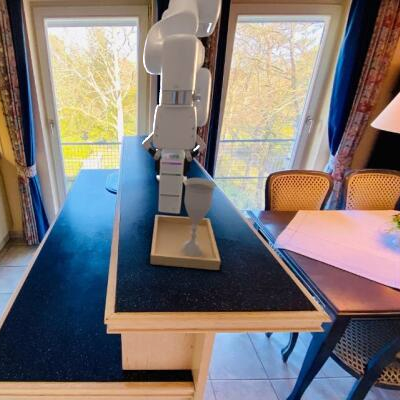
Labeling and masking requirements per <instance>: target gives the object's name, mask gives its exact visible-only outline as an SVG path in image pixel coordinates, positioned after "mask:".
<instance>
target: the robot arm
mask: <svg viewBox="0 0 400 400" xmlns="http://www.w3.org/2000/svg"><path fill="white" fill-rule="evenodd" d="M221 8H222V0H169V3H168V8H167V9H166V10H164V12H163V13H162V15H161V19H160V20H159V21H157V22H155V23H154V24H153V25H152V26H151V27H150V29H149V30H148V32H147V35H146V39H145V44H144V49H143V66H144V68H145V70H146V72H147V73H149V74H151V75H160V90H159V91H160V92H159V104H157V105H156V107H155V112H154V119H153V129H152V133H150V135H148V137H146V138H145V140H143V142H142V143H141V147H143V149H144V150H146V151H147V152H148V154H149V155H150V156H151V157H152V158H153V159H154V172H156V180H157V181H158V182H159V180H160V160H161V157H162V155H163V154H168V153H175V154H183V155H184V167H183V184H184V181H185V180H186V179H188V177H187V175H188V173H190V172H191V171H190V170H191V162H192V160H193V159H194V158H195V157H197V156H198V155H199V154H200V153H202V151H204V150H205V149H206V148H207V144H206V143H205V141H203V139H202V138H201V137H200V135H198V134H197V129H198V128H199V127H204V126H205V125H206V124H207V122H208V119H209V111H210V100H211V91H212V73H211V71H210V69H208V68H206V67H203V66H204V63H205V58H206V56H205V55H206V54H205V53H206V47H205V46H204V45H203V42H202V41H201V40H200V39H199V38H204V37H209V36H211V35H212V34H213V32H214V31H215V28H216V25H217V23H218V20H219V17H220V14H221ZM151 143H152V146H153V147H152V146H151ZM196 143H197V146H196Z"/></svg>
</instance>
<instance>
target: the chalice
mask: <svg viewBox="0 0 400 400" xmlns="http://www.w3.org/2000/svg"><path fill="white" fill-rule="evenodd" d="M183 185H184V186H185V190H184V200H183V202H184V206H185V210H186V213H187V215H188V217H189V218H190V220H192V221H193V225H192V226H191V228H192V232H191V233H190V235H191V240H188V241H186V242H185V244H184V246H183V247H182V252H183V253H184V254H185V255H187V256H190V257H198V256H200V255H201V254H202V250H201V247H200V244H199V243H198V242H197V241H196V240H195V237H196V236H197V233H196V230H197V229H198V227H197V222H200V221H201V220H202V219H203V218H205V216H206V215H207V214H208V212H209V211H210V209H211V208H212V201H213V195H214V190H215V189H216V188H217V184H216V183H215V182H214V181H212V180H210V179H207V178H203V177H190V178H189V177H188V178H187V179H186V180H185V181H184V183H183Z"/></svg>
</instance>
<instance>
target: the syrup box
mask: <svg viewBox="0 0 400 400" xmlns="http://www.w3.org/2000/svg"><path fill="white" fill-rule="evenodd" d="M160 158H161V160H160V180H159V181H158V210H157V211H158V212H160V213H166V214H177V215H178V214H180V212H181V206H182V197H183V196H182V195H183V185H184V183H183V167H184V155H183V154H175V153H168V154H163V155H162V157H161V156H160Z"/></svg>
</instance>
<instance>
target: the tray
mask: <svg viewBox="0 0 400 400" xmlns="http://www.w3.org/2000/svg"><path fill="white" fill-rule="evenodd" d="M192 225H193V221H192V220H190V218H189V216H178V215H163V214H155V216H154V224H153V233H152V240H151V241H152V242H151V250H150V251H151V252H150V265H156V266H157V265H158V266H166V267H167V266H169V267H179V268H188V269H189V268H190V269H201V270H210V271H219V270H220V266H221V258H220V253H219V249H218V246H217V242H216V239H215V234H214V230H213V227H212V223H211V219H210V218H206V217H204V218H203V219H202V220H201V221H200V222H197V227H198V229H197V230H196V233H197V236H196V237H195V240H196V241H197V242H198V243H199V244H200V247H201V250H202V254H201V255H200V256H198V257H190V256H187V255H185V254H184V253H183V252H182V247H183V246H184V244H185V242H186V241H188V240H191V235H190V233H191V232H192V228H191V226H192Z"/></svg>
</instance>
